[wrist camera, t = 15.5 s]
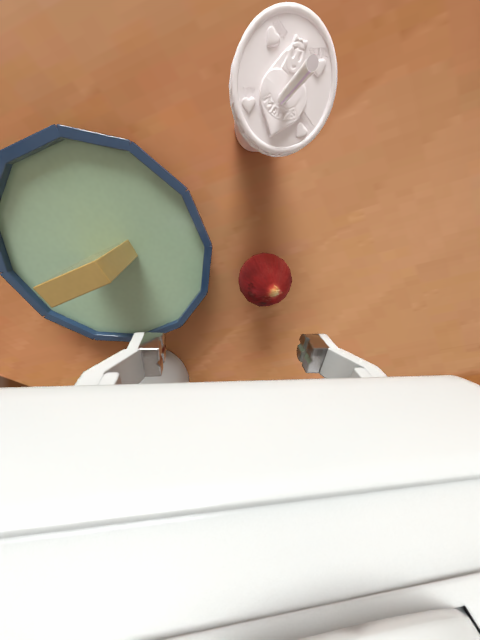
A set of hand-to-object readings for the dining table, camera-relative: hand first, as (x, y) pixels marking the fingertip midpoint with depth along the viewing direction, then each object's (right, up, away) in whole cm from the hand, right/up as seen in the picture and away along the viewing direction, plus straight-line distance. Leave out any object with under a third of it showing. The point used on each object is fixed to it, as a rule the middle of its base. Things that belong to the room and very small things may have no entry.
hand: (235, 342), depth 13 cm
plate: (-13, +8, +10) cm, 18 cm away
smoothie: (+2, +20, +8) cm, 21 cm away
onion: (+3, +8, +15) cm, 17 cm away
